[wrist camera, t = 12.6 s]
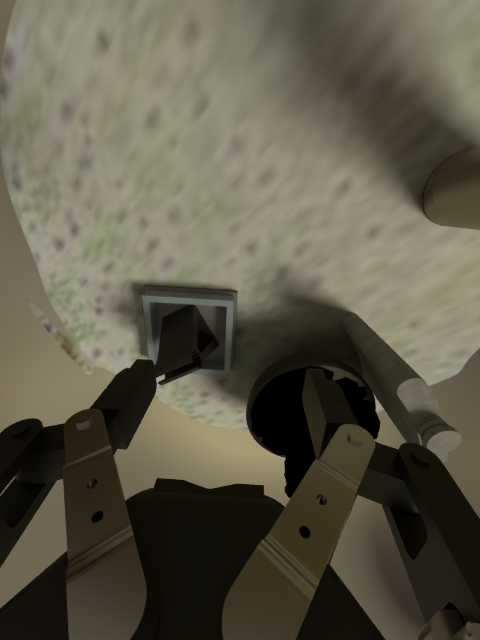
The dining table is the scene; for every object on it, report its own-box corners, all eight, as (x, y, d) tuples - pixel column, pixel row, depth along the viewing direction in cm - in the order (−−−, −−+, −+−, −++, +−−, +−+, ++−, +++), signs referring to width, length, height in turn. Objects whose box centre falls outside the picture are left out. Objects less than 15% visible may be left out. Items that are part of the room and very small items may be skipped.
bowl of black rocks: (329, 312, 43) (386, 384, 26) (364, 394, 50) (426, 493, 33) (226, 358, 47) (217, 447, 30) (272, 428, 54) (286, 531, 37)
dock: (237, 291, 42) (237, 298, 39) (233, 367, 48) (232, 377, 45) (145, 285, 41) (138, 292, 38) (153, 362, 48) (147, 373, 45)
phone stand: (163, 316, 43) (135, 354, 32) (193, 301, 42) (176, 336, 31) (190, 357, 46) (174, 404, 35) (219, 344, 45) (212, 389, 34)
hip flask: (338, 318, 43) (407, 401, 25) (362, 308, 43) (450, 386, 24) (365, 384, 49) (437, 490, 31) (386, 376, 48) (473, 480, 30)
